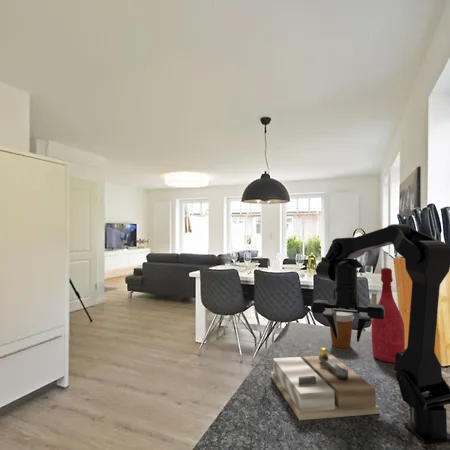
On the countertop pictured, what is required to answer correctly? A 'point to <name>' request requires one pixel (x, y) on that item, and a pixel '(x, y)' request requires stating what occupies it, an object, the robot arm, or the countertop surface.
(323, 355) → the latch bar
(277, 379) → the door and jamb
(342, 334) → the disposable coffee cup
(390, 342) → the wine bottle
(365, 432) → the countertop surface
